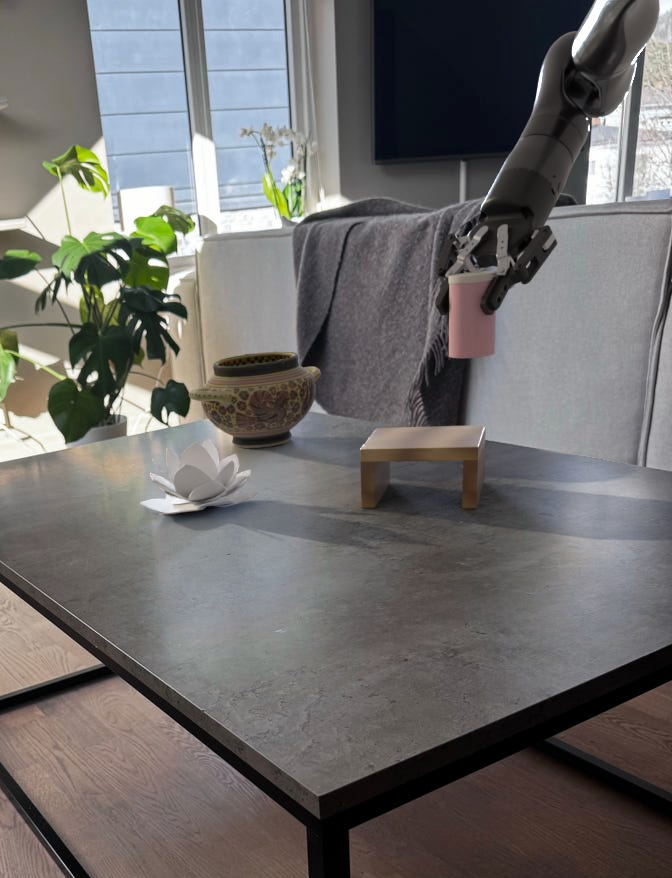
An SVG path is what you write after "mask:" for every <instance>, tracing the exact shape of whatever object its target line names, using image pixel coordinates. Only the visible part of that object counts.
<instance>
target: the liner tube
mask: <svg viewBox="0 0 672 878" xmlns="http://www.w3.org/2000/svg"><path fill="white" fill-rule="evenodd" d="M497 276H498V275H497V270H483V271H481V272H470V273H464V272H463V273H461V272H460V273H458V274H454V275H450V276H449V282H448V283H449V315H448V358H452V359H475V358H477V359H478V358H483V357H489V356H493V355H494V354H495V353H496V323H497V319H496V317H497V316H496V315H497V310H495V312H494V314H493V315H485V314H484V312H483V311H482V309H481V307H480V301H481V299H482V297H483V295H484V293H485V292H486V290H487V288H488V286H489V284H490V282H491V280H492V279H493V277H497Z"/></svg>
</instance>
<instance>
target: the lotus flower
mask: <svg viewBox="0 0 672 878" xmlns="http://www.w3.org/2000/svg"><path fill="white" fill-rule="evenodd" d="M152 462H153V463H154V465H156V467H158V469H159V470H160V471H161V473H162V474H163V475H164V476H165V477H166V478H165V477H163V476H160V475H158V474H156V473H153V472H150V473H149V476H150V479H151V480H152V483H153V484H154V485H155V486H156V487H157V488H158V489H159V490H160V491H161V492H163V493H164V494H165V498H150V499H146V500H143V501H140V505H141V506H142V507H144V508H146V509H149V510H151V511H154V512H157V513H158V515H159V516H163V515H176V514H180V513H187V512H198V511H202V510H205V509H206V508H207V507H210V506H211V507H212V506H213V507H219V508H227V507H230V506H235V505H237V504H241V503H243V502H245V501H248V500H249V499H251V498H253V497H254V496H256V495H258V494H259V493H260V491H259V490H244V491H243V490H242V491H240V489H241V488H243V486H245V485H246V483H248V481H249V479H250V478H251V474H252V469H247V470H243V471H241V472H239V470H240V460H239V458H238V455H237V453H233V454H231V455H227V456H226V457H224V458H223V459H221V456H220V453H219V449H218V447H217V446H216V444H215V443H214V442H213V441H212V440H211V439H210V438H208V437H207V438H206V439H204V441H203V442H201V443H199V442H198V441H195V442H193V443H192V444H190V445H189V446H188V447H186V448H185V449H184V451H182V454H181V456H180V457H179V455H178V454H177V453H176V452H175V451H174V450H172V449H171V448H170V447H166V449H165V465H166V470H167V474H166V473H165V471H164V470H163V468H161V466H160V465H158V463H157V462H156V460H155V459H152Z"/></svg>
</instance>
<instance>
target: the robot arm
mask: <svg viewBox="0 0 672 878" xmlns="http://www.w3.org/2000/svg"><path fill="white" fill-rule="evenodd" d="M660 7H661V6H660V0H594V2H593V3H592V6H591V7H590V9H589V10H588V12H587V14H586V16H585V17H584V18H583V19H584V20H583V21H582V23H581V25H580V26H579V28H578V30H577V31H576V30H575V31H569V32H567V33H565V34H563V35H561V36H560V37H559V38H558V39H556V40H555V41H554V42H553V43H552V45H551V46H550V47H549V49H548V51H547V53H546V55H545V57H544V59H543V62H542V65H541V68H540V73H539V77H538V82H537V90H536V95H535V100H534V104H533V108H532V111H531V115H530V117H529V118H528V121H527V123H526V125H525V127H524V129H523V131H522V133H521V135H520V137H519V139H518V141H516V144H515V146H514V148H513V149H512V150H511V152H510V153H509V154H508V156H507V157H506V159H505V161H504V163H503V165H502V166H501V168H500V170H499V173H498V174H497V175H496V177H495V180H494V181H493V184H492V185H491V187H490V189H489V190H488V193H487V195H486V196H485V199H484V201H483V202H482V204H481V207H480V209H479V216H478V221H477V223H476V225H474V227H473V228H472V229H471V230H470V231H469V232H468V234H466V235H464V236H459V237H458V236H457V234H456V233H455V232H452V233H449V234H448V235H447V236H446V238H445V239H444V244H443V246H442V249H441V252H440V255H439V258H438V261H437V263H436V268H435V271H434V272H435V274H436V275H437V277H438V279H439V280H440V282H441V284H442V286H441V289H440V290H439V292H438V294H437V296H436V298H435V299H434V304H435V308H436V310H437V311H438V313H439V314H440V315H441V316H449V283H448V282H449V276H450V275H454V274H460V273H461V271H462V270H463V273H470V272H481V271H485V269H486V268H491V267H496V271H497V275H498V276H497V277H493V279H492V280H491V282H490V284H489V286H488V288H487V290H486V292H485V293H484V295H483V297H482V299H481V301H480V307H481V309H482V311H483V312H484V314H485V315H493V314H494V312H495V310H496V311H497V310H499V309H500V307H501V305H502V304H503V302H504V299H505V298H506V296H507V294H508V292H509V290H512V289H513V288H514V287H515V285H517V284H519V283H521V284H522V285H528V284H529V283H530V282H531V281H532V280H533V279H534V277H535V276H536V275H537V273H538V272H539V270H540V269H541V267H542V266H543V265H544V263H545V262H546V261H547V259H548V258H549V256H550V255H551V253H552V252H553V251H554V249H555V248H556V247H557V246H558V241H557V238H556V236H555V233H554V232H553V230H552V228H551V226H550V225H549V224H546V222H547V221H548V219H549V217H550V215H551V213H552V211H553V209H554V207H555V205H556V204H557V201H558V199H559V198H560V196H561V194H562V192H563V190H564V188H565V186H566V183H567V180H568V177H569V175H570V172H571V170H572V168H573V166H574V164H575V162H576V160H577V158H578V156H579V154H580V153H581V151H582V148H583V147H584V145H585V143H586V141H587V139H588V135H589V132H590V123H589V121H590V120H589V119H588V118H592V119H601V118H605V117H607V116H610V115H611V114H612V113H614V112H615V111H616V110H617V109H618V108H619V107H620V106H621V104H622V103H623V102H624V100H625V99H626V97H627V95H628V93H629V92H630V89H631V86H632V83H633V80H634V77H635V74H636V68H637V61H638V58H637V57H638V56H639V55H640V53H641V52H642V51H643V49H644V48H645V47H646V46H647V44H648V43H649V41H650V39H651V38H652V36H653V34H654V32H655V30H656V28H657V24H658V22H659V17H660V11H661V8H660ZM471 258H472V259H473V261H474V263H473V262H472V260H471Z"/></svg>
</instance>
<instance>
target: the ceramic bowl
mask: <svg viewBox="0 0 672 878" xmlns="http://www.w3.org/2000/svg"><path fill="white" fill-rule="evenodd" d="M212 369H213V375H212V376H211V377H210V378H209V379H208V380H207V381H206V382H205V384H204V385H203V387H200V388H195V389H192V390H190V391H189V392H188V397H189V398H190V399H191V400H194V401H197V402H201V408H202V410H203V412H204V414H205V416H206V418H207V419H208V420H209V421H210V422H211V423H212V424H213V426H215V427H216V428H217V429H218V430H220V431H221V432H224V433H225V434H227V435H229V436H231V437H232V441H231V443H232V444H233V446H235V447H238V448H241V449H242V448H243V449H258V448H259V449H260V448H261V449H262V448H271V447H275V446H280V445H283V444H286V443H287V442H289V441H290V440H291V439H292V433H291V430H292V429H293V428H295V427H296V426H297V425H298V424H299V423H300V422H301V421H302V420H304V418H305V417H306V415H307V414H308V413H309V412H310V410H311V408H312V406H313V404H314V402H315V399H316V393H317V385H316V382H317V381H318V380H319V378H320V377H321V375H322V372H321V369H320V368H318V367H316V366H305V367H303V366H301V365H300V363H299V354H298V353H297V352H293V351H270V352H268V351H267V352H258V353H257V352H256V353H244V354H242V355H235V356H230V357H225V358H221V359H219V360H217V361H215V362H214V363H213V365H212Z"/></svg>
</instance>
